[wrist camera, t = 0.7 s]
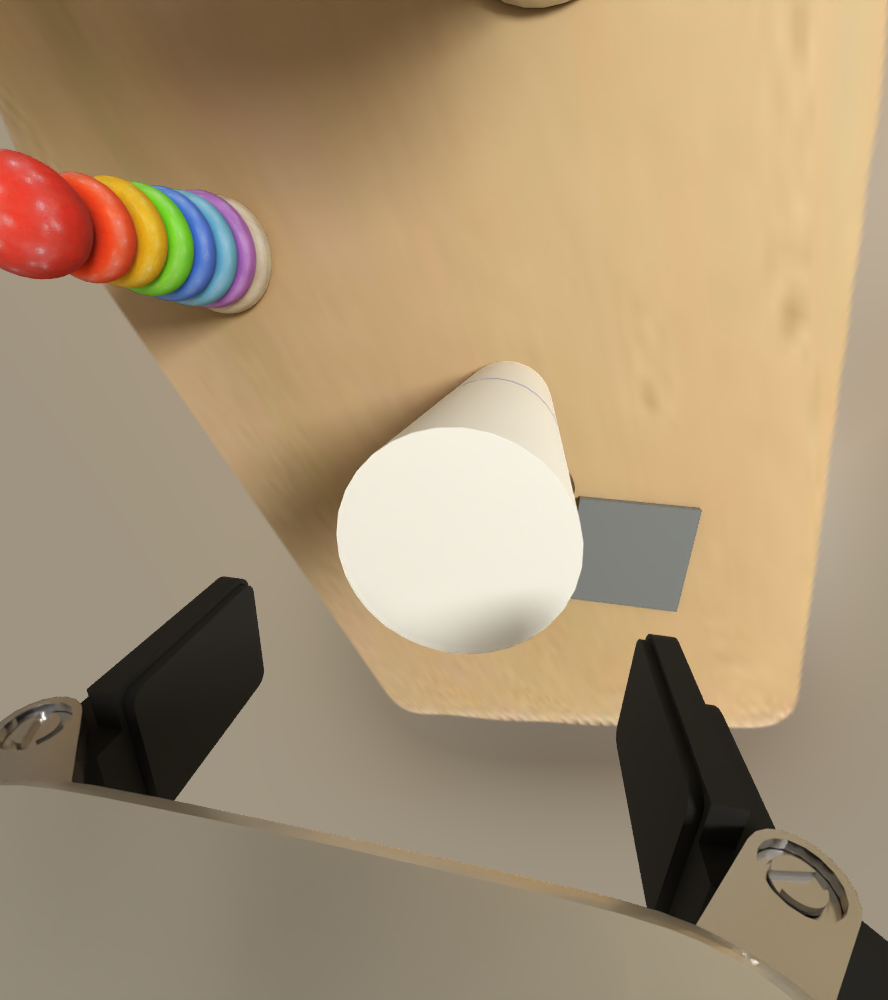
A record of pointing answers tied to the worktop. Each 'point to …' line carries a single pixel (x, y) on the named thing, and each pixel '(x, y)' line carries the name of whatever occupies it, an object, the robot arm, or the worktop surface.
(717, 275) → the worktop surface
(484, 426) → the cylindrical container
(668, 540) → the mat
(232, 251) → the stacking toy
